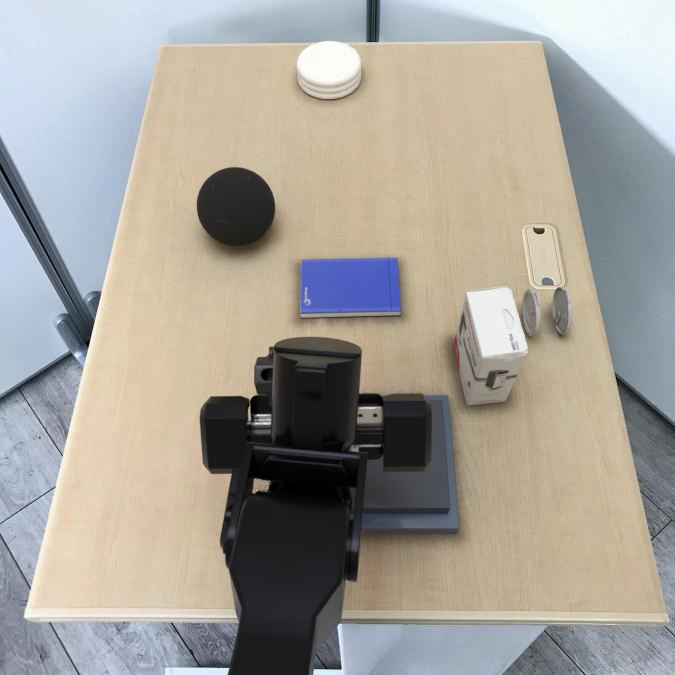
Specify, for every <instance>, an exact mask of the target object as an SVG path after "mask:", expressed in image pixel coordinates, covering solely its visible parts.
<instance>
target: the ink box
mask: <svg viewBox="0 0 675 675" xmlns="http://www.w3.org/2000/svg"><path fill="white" fill-rule="evenodd" d="M465 292H466V294H465V297H464V300H463V305H462V308H461V311H460V312H461V313H460V317H459V320H458V324H457V328H456V331H455V336H454V340H453V343H452V346H453V351H454V356H455V359H456V360H455V361H456V364H457V369H458V373H459V378H460V382H461V387H462V391H463V395H464V400H465V405H466V406H478V405H485V404H494V403H496V404H497V403H505V402H506V401H507V399H508V397H509V395H510V393H511V390H512V388H513V386H514V384H515V382H516V379H517V377H518V375H519V372H520V370H521V368H522V366H523V364H524V362H525V360H526V358H527V355H528V354H529V350H528V346H529V345H528V343H527V341H526V340H527V339H526V335H525V332H524V330H523V325H522V323H521V319H520V318H521V317H520V315H519V312H518V308H517V304H516V301H515V298H514V293H513V290H512V289H511V288H509V285H502V286H492V287H485V288H479V289H472V290H467V291H465Z"/></svg>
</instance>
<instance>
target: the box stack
mask: <svg viewBox="0 0 675 675" xmlns="http://www.w3.org/2000/svg"><path fill="white" fill-rule="evenodd" d="M424 395H425V394H424ZM381 396H382V397H384V396H385V395H381ZM425 396H426V397H427V398H428V399H429V401H430V404H431V410H432V444H431V463H430V465H429V466H428V467H427V468H426V470H425V471H424V472H383V456H382V457H381V458H380V459H378V460H367V474H366V486H365V498H364V510H363V522H362V534H457V533H458V531H459V529H460V524H459V513H458V512H459V511H458V499H457V487H456V476H455V474H456V473H455V463H454V462H455V461H454V452H453V451H454V450H453V439H452V429H451V426H452V425H451V415H450V403H449V395H448V394H447V395H445V394H443V395H442V394H439V395H438V394H437V395H435V394H434V395H433V394H429V395H428V394H427V395H425ZM355 496H356V489H355V488H352V510H351V514H350V519H353V516H354V506H355Z"/></svg>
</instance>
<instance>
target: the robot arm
mask: <svg viewBox="0 0 675 675" xmlns="http://www.w3.org/2000/svg"><path fill="white" fill-rule="evenodd" d="M362 359H363V348H361V347H360V346H359V345H358V344H355V343H354V342H351V341H347V340H344V339H339V338H333V337H325V336H298V337H297V336H296V337H289V338H285V339H281V340H279V341H277V342H276V343H274V345H273V346H268V354H267V355H266V356H258V357H256V359H255V363H254V367H253V383H254V388H255V391H256V394H255V395H253V396H252V397H251V398H248V397H246V396H243V395H211V396H209V397H208V398H207V399H206V400H205V402H204V403H203V404H202V406H201V408H200V410H199V429H200V430H199V431H200V444H201V445H200V446H201V456H202V459H201V460H202V465H203V467H204V468H205V469H206V470H207V471H208V472H209V473H210V475H231V476H230V481H229V486H228V492H227V498H226V502H225V507H224V514H223V520H222V525H221V531H220V537H219V547H220V549H222V554H223V555H224V562H225V567H226V568H227V570H228V573H229V579H230V585H231V592H232V600H233V606H234V612H235V615H236V617H237V620H238V626H237V631H236V635H235V636H236V637H235V641H234V645H233V649H232V654H231V659H230V662H229V668H228V671H227V675H314V672H315V666H316V658H317V653H318V650H319V649H320V648H321V647H322V645H323V644H324V643H325V642H326V640H327V639H328V638H329V637H330V635H331V634H332V633H333V632H335V630H336V629H337V627H338V626H339V625H340V624H341V622H342V618H343V610H344V609H343V608H344V600H345V592H346V582H349V583H350V582H352V583H358V577H359V567H360V558H361V557H360V555H361V543H362V534H363V533H362V522H363V510H364V498H365V486H366V474H367V460H378V459H380V458H381V457H382V456H383V472H424V471H425V470H426V468H427V467H428V466H429V465H430V463H431V444H432V410H431V404H430V401H429V399H428V398H427V397H426V396H425V394H424V393H421V392H420V393H419V392H417V393H415V392H414V393H390V394H387V395H381V394H380V393H375V392H370V393H365V392H363V393H362V392H361V393H360V390H361V389H360V386H361V372H362ZM382 396H384V397H382ZM249 412H250V414H249ZM249 415H250V419H249ZM255 480H260V481H266V482H267V481H269V482H268V487H267V490H257V491H255V492H253V490H254V484H255ZM352 488H355V489H356V496H355V506H354V516H353V519H350V514H351V510H352Z"/></svg>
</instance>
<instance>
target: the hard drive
mask: <svg viewBox="0 0 675 675" xmlns="http://www.w3.org/2000/svg"><path fill="white" fill-rule="evenodd" d="M399 277H400V276H399V262H398V257H365V258H361V257H360V258H358V257H357V258H356V257H355V258H354V257H353V258H323V259H322V258H315V259H314V258H313V259H312V258H311V259H300V288H299V289H300V292H299V294H300V297H299V316H300V318H304V319H305V318H339V317H378V316H379V317H381V316H401V314H402V305H401V304H402V302H401V292H400V291H401V290H400V279H399Z"/></svg>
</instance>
